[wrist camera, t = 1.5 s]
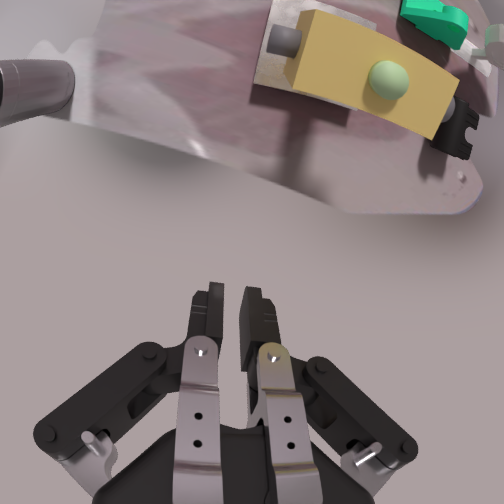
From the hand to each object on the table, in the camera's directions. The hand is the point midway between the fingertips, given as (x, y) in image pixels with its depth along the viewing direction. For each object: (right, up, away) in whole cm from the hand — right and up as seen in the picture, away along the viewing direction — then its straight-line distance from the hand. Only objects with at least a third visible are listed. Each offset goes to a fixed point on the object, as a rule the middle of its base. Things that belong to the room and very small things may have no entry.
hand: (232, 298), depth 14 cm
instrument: (+10, +29, +14) cm, 34 cm away
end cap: (+35, +25, +24) cm, 49 cm away
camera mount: (+31, +42, +12) cm, 54 cm away
